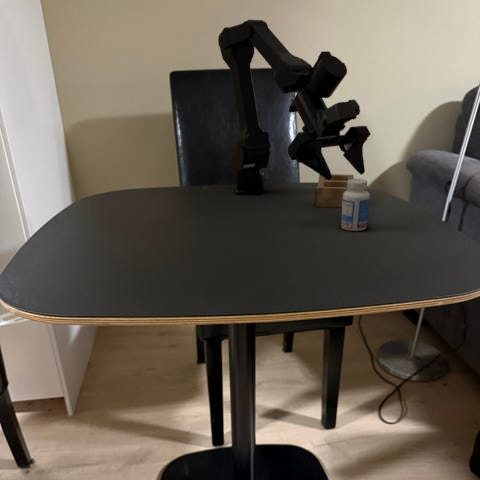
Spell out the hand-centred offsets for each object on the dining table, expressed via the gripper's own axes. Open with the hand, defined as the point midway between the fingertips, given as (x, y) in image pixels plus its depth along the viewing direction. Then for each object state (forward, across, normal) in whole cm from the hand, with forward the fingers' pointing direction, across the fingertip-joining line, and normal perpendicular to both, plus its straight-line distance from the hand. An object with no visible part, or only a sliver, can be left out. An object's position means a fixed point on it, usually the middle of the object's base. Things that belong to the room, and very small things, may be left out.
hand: (347, 176), depth 99 cm
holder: (-5, +14, +19) cm, 24 cm away
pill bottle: (+10, 0, +5) cm, 11 cm away
